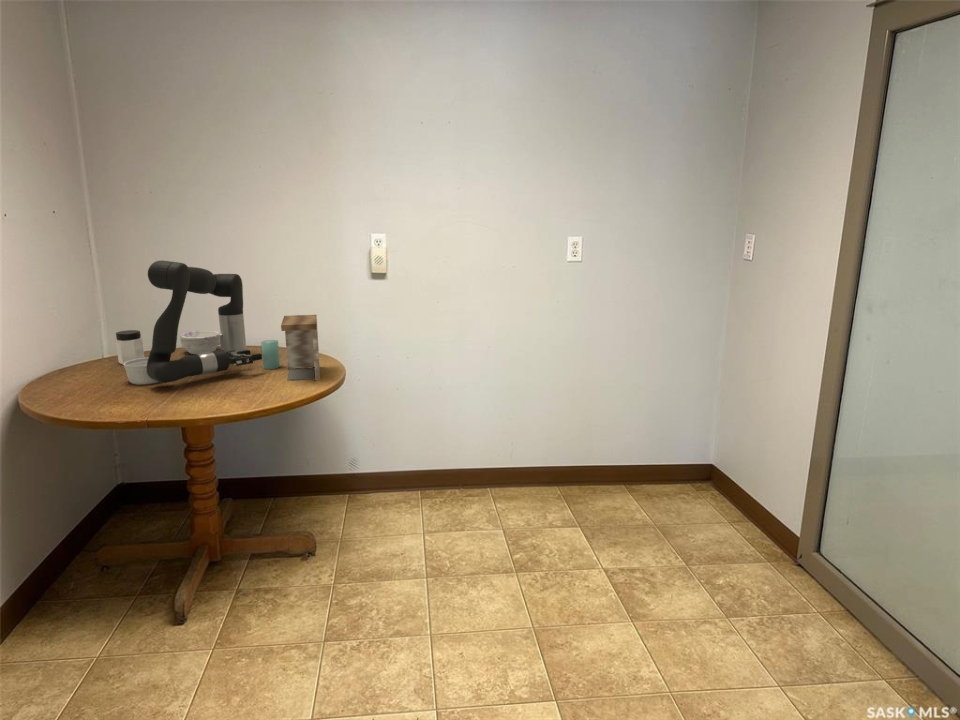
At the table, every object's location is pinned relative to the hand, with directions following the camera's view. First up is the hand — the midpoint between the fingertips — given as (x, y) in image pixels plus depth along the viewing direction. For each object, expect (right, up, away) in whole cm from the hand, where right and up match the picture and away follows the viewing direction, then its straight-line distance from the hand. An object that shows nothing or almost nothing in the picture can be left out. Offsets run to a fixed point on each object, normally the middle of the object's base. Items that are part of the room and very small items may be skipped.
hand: (255, 354), depth 216 cm
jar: (-53, -3, +12) cm, 54 cm away
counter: (+19, -7, -4) cm, 20 cm away
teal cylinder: (+4, -5, +6) cm, 8 cm away
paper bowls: (-34, +1, +30) cm, 45 cm away
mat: (+18, -7, -5) cm, 20 cm away
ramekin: (-32, -9, -13) cm, 36 cm away
